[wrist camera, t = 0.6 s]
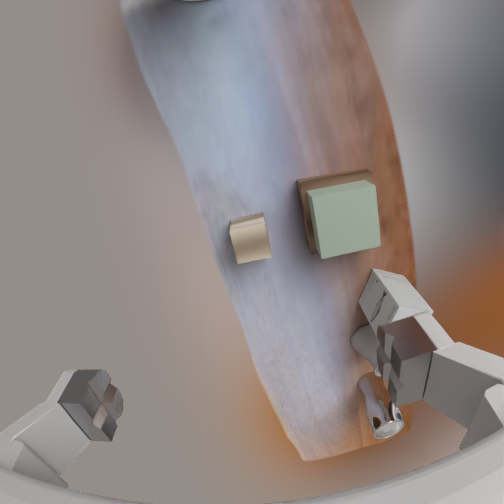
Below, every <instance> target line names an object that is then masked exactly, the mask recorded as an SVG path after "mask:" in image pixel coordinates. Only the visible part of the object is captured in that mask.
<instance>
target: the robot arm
mask: <svg viewBox="0 0 504 504" xmlns="http://www.w3.org/2000/svg"><path fill="white" fill-rule="evenodd" d="M183 1H203V0H183ZM377 338H378V340H379V342H380V345H379V347H378V348H377V364H378V368H379V372H380V374H381V377H382V379H383V380H384V381H386V382H388V392H389V395H390V397H391V399H392V401H393V404H394V406H395V407H399V406H402V405H405V404H408V403H412V402H415V401H418V400H421V399H423V400H424V401H425V402H427V403H428V404H430V405H431V406H433V407H434V408H436V409H437V410H439V411H440V412H442V413H444V414H445V415H447V416H448V417H450V418H451V419H453V420H454V421H456V422H457V423H459V424H461V425H462V426H464V427H465V428H467V429H468V431H467V433H466V435H465V437H464V439H463V441H462V443H461V444H460V447H459V449H460V451H458V452H456V453H454V454H451V455H449V456H447V457H445V458H442V459H440V460H438V461H436V462H433V463H430V464H428V465H425V466H423V467H420V468H418V469H415V470H412V471H410V472H407V473H404V474H401V475H398V476H395V477H392V478H389V479H386V480H383V481H379V482H376V483H372V484H369V485H366V486H362V487H358V488H354V489H350V490H346V491H341V492H337V493H333V494H327V495H323V496H318V497H312V498H306V499H299V500H292V501H285V502H277V503H268V504H504V358H501V357H499V356H496V355H493V354H491V353H488V352H485V351H482V350H480V349H477V348H474V347H472V346H468V345H466V344H463V343H461V342H457V343H454V342H453V341H452V339H450V337H449V336H448V335H447V333H446V332H445V331H444V330H443V328H442V327H441V326H440V325H439V324H438V322H437V321H436V320H435V319H434V317H433V316H432V315H431V314H430V313H429V312H428V311H423V312H420V313H417V314H414V315H411V316H410V317H406V318H403V319H399V320H396V321H393V322H389V323H386V324H382V325H378V328H377ZM110 382H111V378H110V376H109V375H108V373H107V372H106V371H104V370H67V371H65V372H63V374H62V376H61V378H60V379H59V381H58V382H57V384H56V385H55V387H54V389H53V390H52V392H51V394H50V396H49V397H48V399H47V401H46V402H42V403H40V404H39V405H38V406H36V407H35V408H34V409H32V410H31V411H29V412H28V413H27V414H25V415H24V416H22V417H21V418H20V419H18V420H17V421H16V422H14V423H13V424H11V425H10V426H9V427H7V428H6V429H4V430H3V431H2V432H0V504H153V503H143V502H135V501H128V500H121V499H115V498H109V497H104V496H99V495H94V494H89V493H85V492H80V491H76V490H72V489H68V484H67V483H66V482H65V481H64V480H63V479H62V478H60V477H59V476H60V474H61V473H62V472H63V471H64V470H65V469H66V468H67V467H68V466H69V465H70V464H71V463H72V461H74V459H76V457H77V456H78V455H79V454H80V453H81V452H82V451H83V450H84V449H85V448H86V447H87V446H88V445H89V443H90V442H91V441H90V440H92V441H93V440H94V441H108V442H111V441H112V439H113V436H114V434H115V431H116V428H117V425H116V422H115V420H117V419H118V418H119V417H120V416H121V414H122V411H123V399H122V396H121V393H120V392H119V390H118V389H117V388H116V387H115V386H113V385H112V384H110Z"/></svg>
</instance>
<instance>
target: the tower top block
mask: <svg viewBox="0 0 504 504" xmlns="http://www.w3.org/2000/svg"><path fill="white" fill-rule="evenodd" d="M307 196H308V202H309V208H310V213H311V219H312V225H313V231H314V237H315V244H316V249H317V251H318V253H319V255H320V257H321V259H325V258H329V257H334V256H338V255H343V254H347V253H352V252H356V251H361V250H365V249H370V248H374V247H378V246H380V231H379V218H378V207H377V197H376V188H375V185H373V184H372V183H370V182H368V181H366V180H362V181H356V182H351V183H346V184H340V185H335V186H330V187H324V188H319V189H314V190H309V191H307Z"/></svg>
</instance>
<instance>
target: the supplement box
mask: <svg viewBox="0 0 504 504" xmlns="http://www.w3.org/2000/svg"><path fill="white" fill-rule="evenodd" d="M358 302H359V304H360V306H361V308H362V310H363V312H364V314H365V316H366V318H367V320H368V321H369V323H370V325H371V327H372V329H373V331H374V333H375V335H376V337H377V328H378V325H382V324H386V323H389V322H393V321H396V320H399V319H403V318H406V317H410V316H411V315H414V314H417V313H420V312H423V311H428V312H429V313H430V314H431V315H432V314H433V310H432V309H431V308H430V307H429V305H428V304H427V303H426V302H425V300H424V299H423V298H422V297H421V296H420V295H419V293H418V292H417V291H416V290H415V288H414V287H413V286H412V285H411V284H410V283H409V281H408V280H407V279H406V278H405V277H404V276H403V275H399V274H395V273H391V272H386V271H382V270H378V269H372V271H371V274H370V277H369V279H368V282H367V284H366V286H365V289H364V291H363V293H362V295H361V297H360V299H359V301H358ZM377 339H378V338H377ZM378 341H379V340H378ZM379 343H380V342H379Z"/></svg>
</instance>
